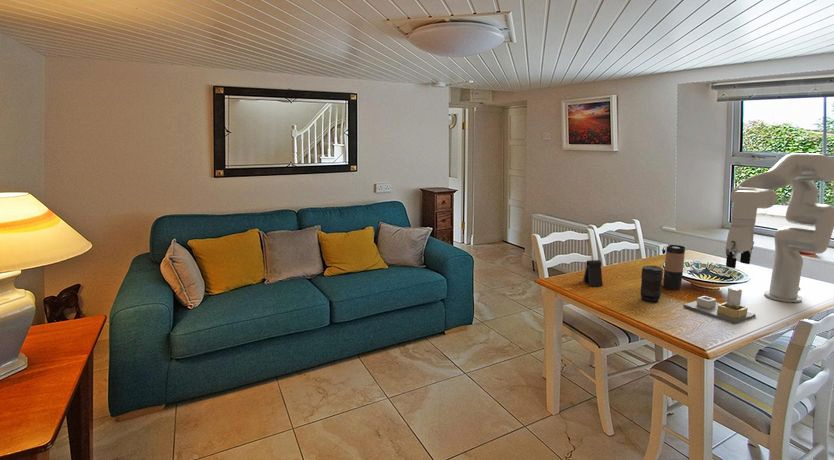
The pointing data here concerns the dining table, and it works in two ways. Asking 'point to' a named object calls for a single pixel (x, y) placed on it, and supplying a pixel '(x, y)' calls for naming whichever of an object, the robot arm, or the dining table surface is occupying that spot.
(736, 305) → the light grey rectangular block
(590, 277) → the door stopper
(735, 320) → the fitting board
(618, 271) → the dining table surface
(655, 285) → the camera lens
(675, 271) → the travel mug
